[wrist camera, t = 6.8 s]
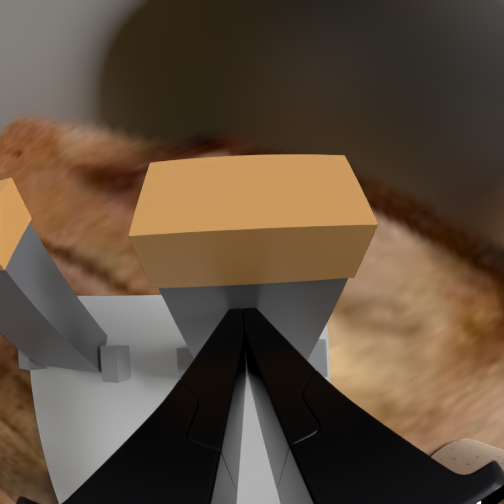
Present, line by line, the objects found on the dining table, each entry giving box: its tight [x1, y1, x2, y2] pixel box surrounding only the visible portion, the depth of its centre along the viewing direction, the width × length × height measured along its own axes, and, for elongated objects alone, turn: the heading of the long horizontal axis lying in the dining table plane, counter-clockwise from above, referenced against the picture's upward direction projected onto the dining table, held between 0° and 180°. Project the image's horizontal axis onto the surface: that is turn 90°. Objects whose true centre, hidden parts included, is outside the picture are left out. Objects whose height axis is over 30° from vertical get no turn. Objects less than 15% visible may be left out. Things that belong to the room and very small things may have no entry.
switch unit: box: [18, 295, 330, 504], centre depth 14 cm, size 22×20×4 cm
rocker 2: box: [129, 155, 378, 377], centre depth 11 cm, size 3×5×11 cm, turn 93°
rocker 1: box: [0, 177, 108, 373], centre depth 11 cm, size 3×5×11 cm, turn 93°
